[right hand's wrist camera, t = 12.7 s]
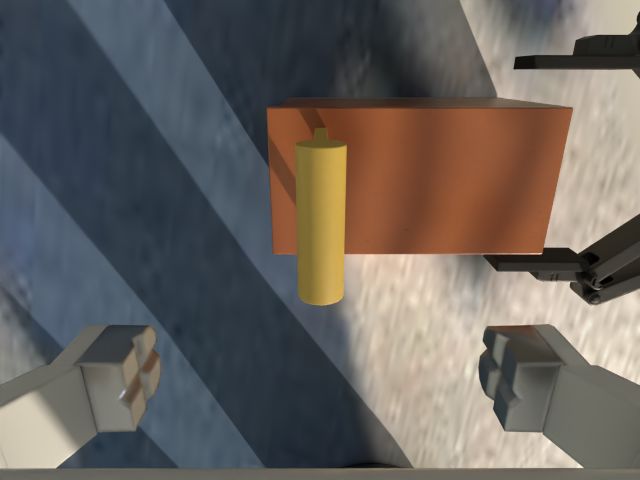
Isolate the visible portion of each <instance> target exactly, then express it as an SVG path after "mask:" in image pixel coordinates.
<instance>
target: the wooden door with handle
mask: <svg viewBox="0 0 640 480" xmlns="http://www.w3.org/2000/svg"><path fill="white" fill-rule="evenodd" d="M266 110H267V132H268V154H269V176H270V198H271V220H272V242H273V254H297V255H298V295H299V297H300V299H301V300H303V301H304V302H306V303H309V304H314V305H328V304H332V303H335V302H337V301H339V300H340V299H341V298H342V297H343V286H344V254H542V252H543V248H544V243H545V238H546V233H547V229H548V224H549V219H550V215H551V210H552V205H553V201H554V196H555V191H556V186H557V182H558V177H559V172H560V168H561V163H562V158H563V153H564V149H565V144H566V139H567V135H568V130H569V125H570V121H571V116H572V111H573V108H572V107H565V106H269V107H267V109H266Z"/></svg>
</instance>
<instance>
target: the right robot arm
mask: <svg viewBox="0 0 640 480" xmlns="http://www.w3.org/2000/svg"><path fill="white" fill-rule="evenodd" d="M156 342H157V336H156V332H155V329H154V328H153V327H152V326H149V325H89V326H86V327H85V328H84V329H83V330H82V331H81V332H80V333H79V334H78V335H77V336H76V337H75V339H74V340H73V341H72V342H71V343H70V344H69V345H68V346H67V347H66V348H65V349H64V350H63V351H62V352H61V353H60V354H59V356H58V357H57V358H56V359H55V360H54V361H53V362H52V363H51V364H50V365H45V366H40V367H38V368H36V369H34V370H32V371H30V372H28V373H25V374H23V375H21V376H19V377H17V378H15V379H13V380H11V381H9V382H6V383H4V384H2V385H0V480H640V385H638V384H636V383H634V382H631V381H629V380H627V379H625V378H623V377H621V376H619V375H617V374H615V373H612V372H610V371H608V370H606V369H604V368H602V367H600V366H595V365H590V364H589V363H588V362H587V361H586V360H585V359H584V358H583V357H582V356H581V354H580V353H579V352H578V351H577V350H576V349H575V348H574V347H573V346H572V345H571V344H570V343H569V342H568V341H567V340H566V338H565V337H564V336H563V335H562V334H561V333H560V332H559V331H558V330H557V329H556V328H555V327H554V326H552V325H549V324H544V325H519V326H487V327H486V329H485V331H484V336H483V342H484V344H485V346H486V347H487V349H486V350H485V351H484V352H483V353H482V354H481V355H480V360H479V367H478V368H479V379H480V382H481V386H482V388H483V390H484V392H485V394H486V396H488V397H489V398H491V399H492V400H494V407H493V410H494V412H495V414H496V416H497V418H498V419H499V421H500V423H501V425H502V427H503V429H504V431H511V432H543V435H544V436H546V437H547V438H548V439H549V440H551V441H552V442H553V443H554V444H556V445H557V446H558V447H559V448H560V449H562V450H563V451H564V452H565V453H567V454H568V455H569V456H570V457H571V458H573V459H574V460H575V461H576V462H578V463H579V464H580V465H581V466H583V467H584V468H56V467H58V466H59V465H60V464H61V463H63V462H64V461H65V460H66V459H67V458H69V457H70V456H71V455H72V454H74V453H75V452H76V451H77V450H78V449H80V448H81V447H82V446H83V445H85V444H86V443H87V442H88V441H90V440H91V439H92V438H93V437H94V436H96V435H97V432H128V431H136V429H137V427H138V425H139V423H140V421H141V419H142V418H143V416H144V414H145V412H146V410H147V407H146V400H148V399H149V398H151V397H152V396H154V394H155V392H156V390H157V388H158V386H159V382H160V378H161V359H160V355H159V354H158V353H157V352H156V351H155V350H154V349H153V347H154V346H155V344H156Z"/></svg>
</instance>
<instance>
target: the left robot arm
mask: <svg viewBox="0 0 640 480" xmlns="http://www.w3.org/2000/svg"><path fill="white" fill-rule="evenodd" d="M514 69H593V70H615V69H632V70H633V71H634V72H635V74H636V75H637V76H638V77H639V78H640V12H639V13H638V16H637V25H636V27H635V29H634V30H633V31H632V32H631V33H630V34H629V35H594V36H587V37H583V38H580V39H578V40H576V42H575V47H574V51H573V55H532V56H521V57H515V63H514ZM484 257H485V259H486V260H487V261H488V262H489V263H490V264H491V265H492V266H493V267H494V269H495V270H496V271H527V272H530V273H531V274H532V275H533V276H534V277H535V278H536V279H537V280H540V281H543V282H550V281H551V282H555V281H556V282H571V283H570V288H571V289H572V290H573V291H574V292H575V293H576V294H578V295H579V296H580V297H581V298H582V299H583V300H585V301H586V302H587V303H588V304H589V305H591V306H596V305H599V304H602V303H605V302H607V301H610V300H612V299H615V298H617V297H620V296H623V295H625V294H628V293H630V292H633V291H636V290H638V289H640V214H639V215H637V216H636V217H634V218H632V219H631V220H629V221H628V222H626V223H625V224H623V225H622V226H620V227H619V228H617V229H615V230H614V231H612V232H611V233H609V234H608V235H606V236H605V237H603V238H602V239H600V240H599V241H597V242H595V243H594V244H592V245H591V246H589V247H588V248H586V249H585V250H583V251H582V252H580V253H578V254H577V253H575V252H574V251H572V250H571V249H569V248H543V252H542V254H484ZM346 468H397V467H394V466H390V465H384V464H360V465H354V466H350V467H346Z"/></svg>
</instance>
